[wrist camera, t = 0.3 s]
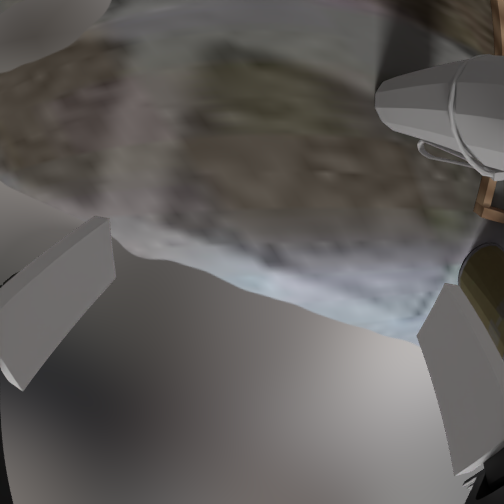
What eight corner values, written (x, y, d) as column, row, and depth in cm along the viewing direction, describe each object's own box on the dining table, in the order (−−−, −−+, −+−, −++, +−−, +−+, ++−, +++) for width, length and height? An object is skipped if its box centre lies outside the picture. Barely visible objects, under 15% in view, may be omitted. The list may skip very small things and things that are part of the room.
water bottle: (363, 79, 28) (477, 37, 6) (420, 75, 26) (568, 61, 4) (379, 151, 32) (496, 234, 10) (433, 144, 30) (576, 216, 8)
